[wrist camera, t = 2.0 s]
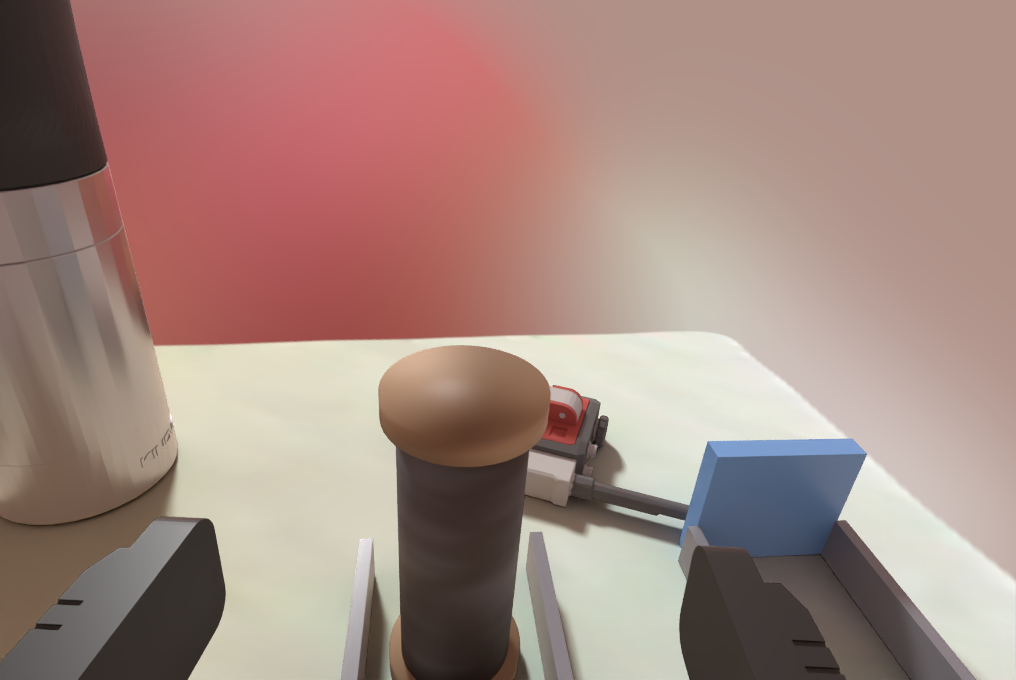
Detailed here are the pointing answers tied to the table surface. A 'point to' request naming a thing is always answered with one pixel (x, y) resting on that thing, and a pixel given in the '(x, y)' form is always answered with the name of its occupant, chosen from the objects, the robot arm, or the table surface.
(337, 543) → the table surface
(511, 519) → the cord spool
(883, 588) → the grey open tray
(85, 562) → the table surface
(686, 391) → the table surface
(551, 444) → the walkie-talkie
